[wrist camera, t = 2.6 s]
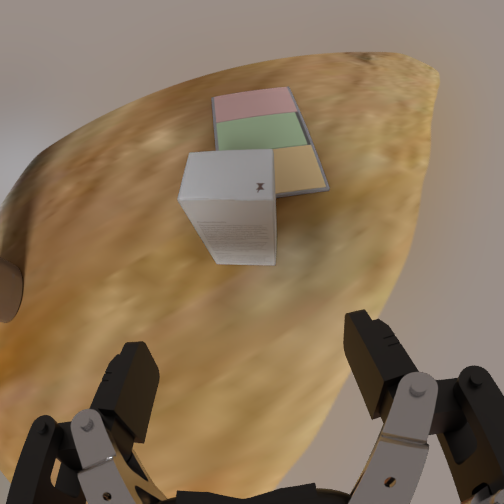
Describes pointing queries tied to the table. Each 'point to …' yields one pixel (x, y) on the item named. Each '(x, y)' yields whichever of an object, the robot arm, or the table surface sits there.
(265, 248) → the skincare box
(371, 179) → the table surface
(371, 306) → the table surface
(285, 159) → the multicoloured flat board
